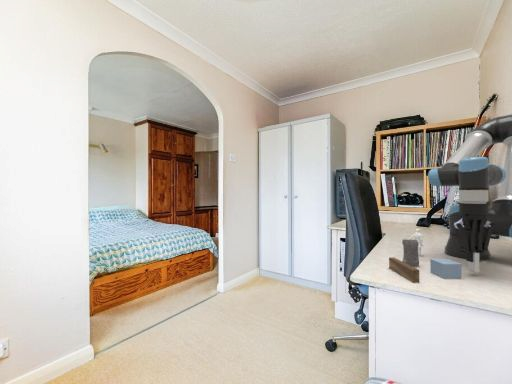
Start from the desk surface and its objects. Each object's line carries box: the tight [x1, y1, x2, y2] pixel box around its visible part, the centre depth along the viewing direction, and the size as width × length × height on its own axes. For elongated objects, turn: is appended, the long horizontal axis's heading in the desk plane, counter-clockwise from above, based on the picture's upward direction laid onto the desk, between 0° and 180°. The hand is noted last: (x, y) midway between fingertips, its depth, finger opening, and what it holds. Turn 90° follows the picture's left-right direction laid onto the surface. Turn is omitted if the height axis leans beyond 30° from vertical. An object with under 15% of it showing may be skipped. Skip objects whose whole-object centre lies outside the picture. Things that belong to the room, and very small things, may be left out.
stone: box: [402, 238, 420, 268], centre depth 93 cm, size 3×6×10 cm, turn 70°
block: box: [429, 258, 463, 280], centre depth 82 cm, size 6×6×5 cm
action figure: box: [406, 228, 424, 257], centre depth 107 cm, size 6×4×12 cm, turn 36°
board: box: [388, 257, 420, 283], centre depth 83 cm, size 2×14×4 cm, turn 179°
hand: (473, 270), depth 81 cm, fingers closed
